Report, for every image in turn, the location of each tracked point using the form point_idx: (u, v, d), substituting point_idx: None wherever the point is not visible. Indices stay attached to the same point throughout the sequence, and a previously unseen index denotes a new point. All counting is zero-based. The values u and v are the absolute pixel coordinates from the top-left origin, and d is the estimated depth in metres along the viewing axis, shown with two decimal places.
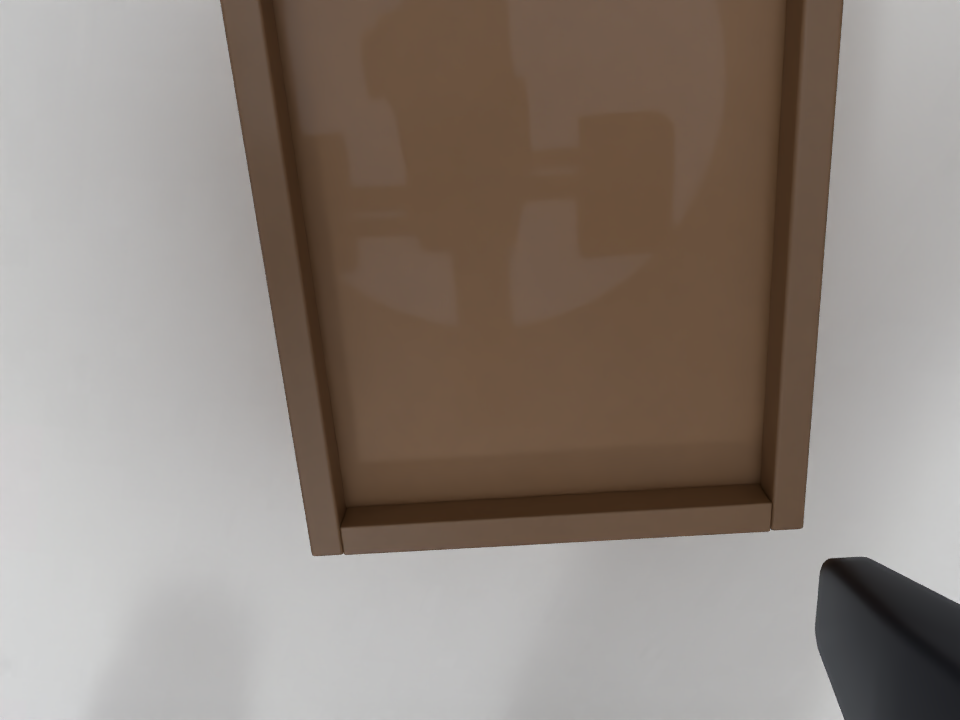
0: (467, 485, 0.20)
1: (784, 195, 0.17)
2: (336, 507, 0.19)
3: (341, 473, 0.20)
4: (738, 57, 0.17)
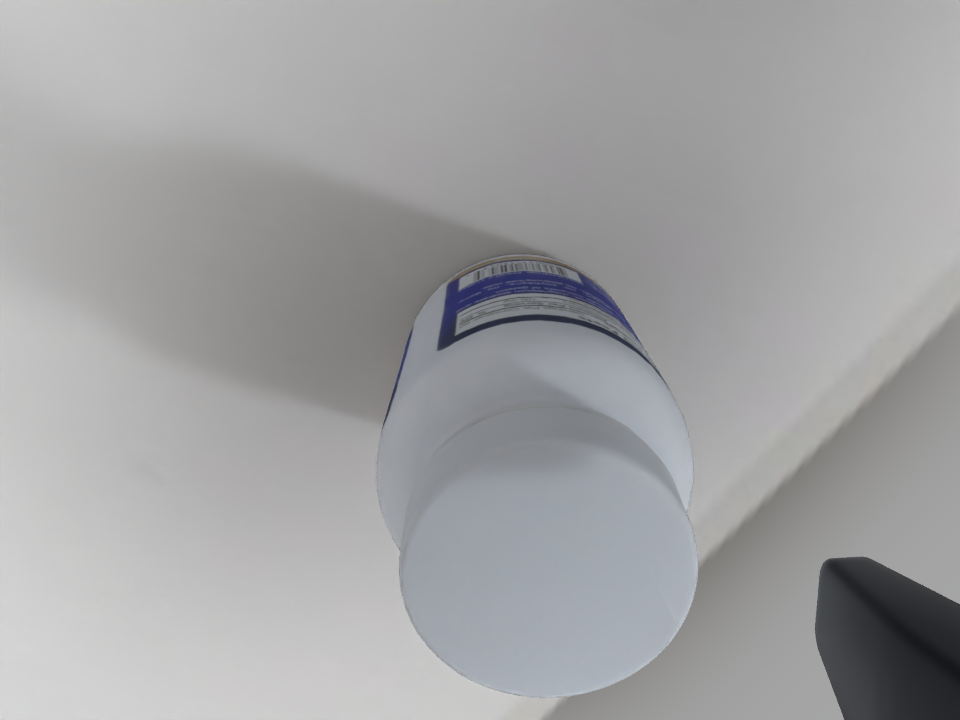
0: None
1: None
2: None
3: None
4: None
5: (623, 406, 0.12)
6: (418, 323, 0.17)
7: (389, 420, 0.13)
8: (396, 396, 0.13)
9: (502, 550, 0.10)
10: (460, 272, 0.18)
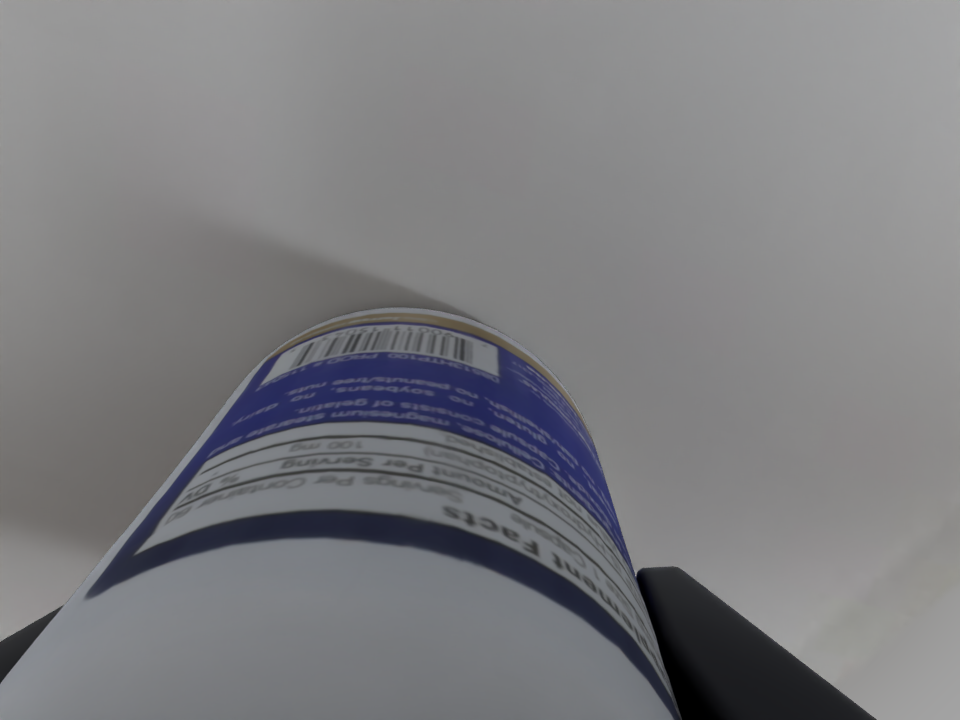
0: None
1: None
2: None
3: None
4: None
5: None
6: None
7: None
8: None
9: None
10: (293, 338, 0.10)
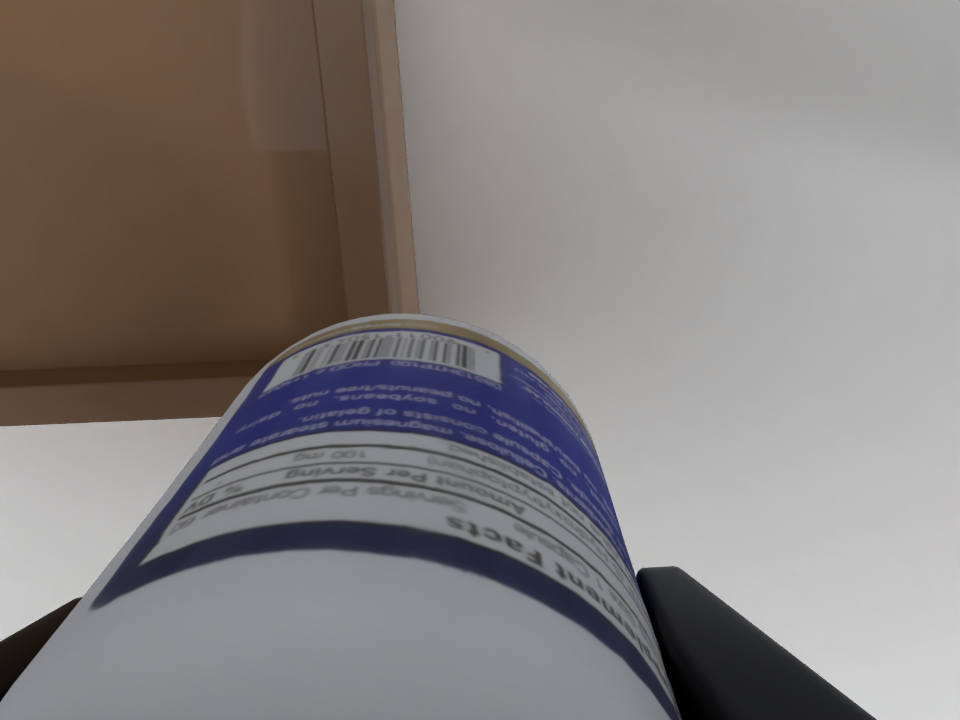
0: (321, 191, 0.14)
1: None
2: None
3: None
4: None
5: None
6: None
7: None
8: None
9: None
10: (296, 344, 0.10)
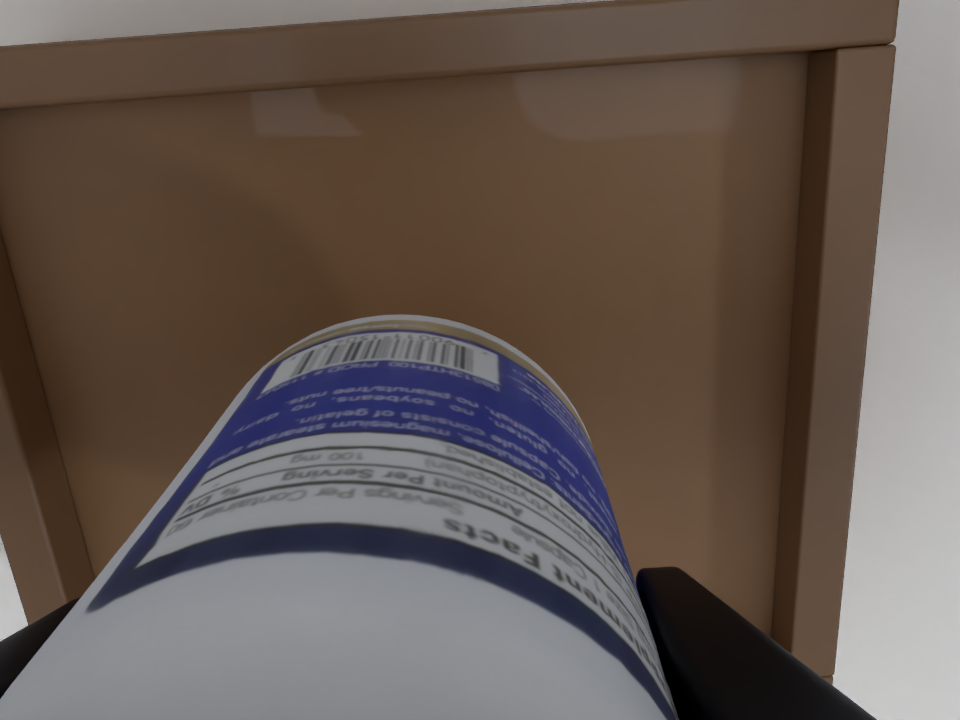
0: (756, 496, 0.14)
1: None
2: None
3: None
4: (140, 162, 0.12)
5: None
6: None
7: None
8: None
9: None
10: (294, 345, 0.10)
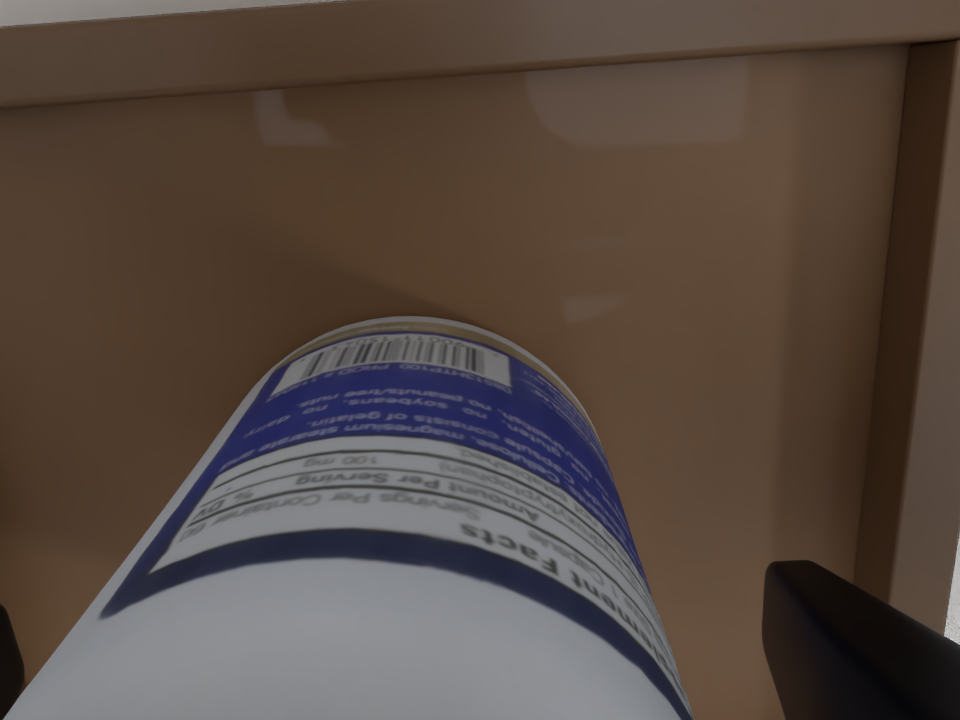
0: None
1: (269, 89, 0.09)
2: None
3: None
4: (62, 183, 0.10)
5: None
6: None
7: None
8: None
9: None
10: (303, 347, 0.10)
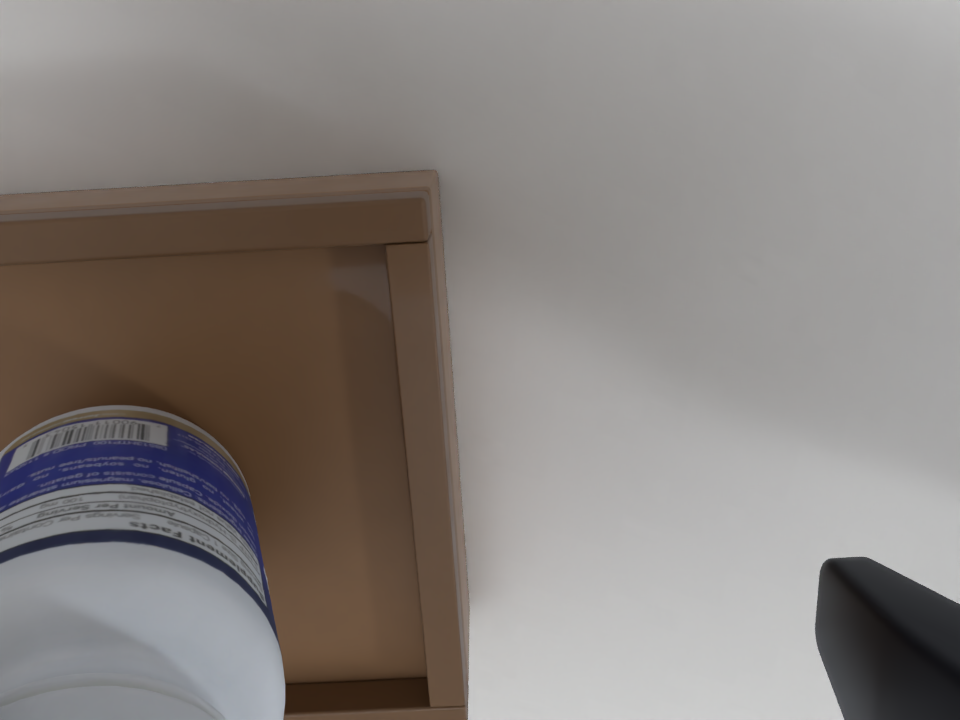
0: (403, 563, 0.18)
1: None
2: (406, 708, 0.18)
3: (391, 678, 0.19)
4: None
5: (177, 640, 0.10)
6: None
7: None
8: None
9: None
10: (22, 435, 0.15)
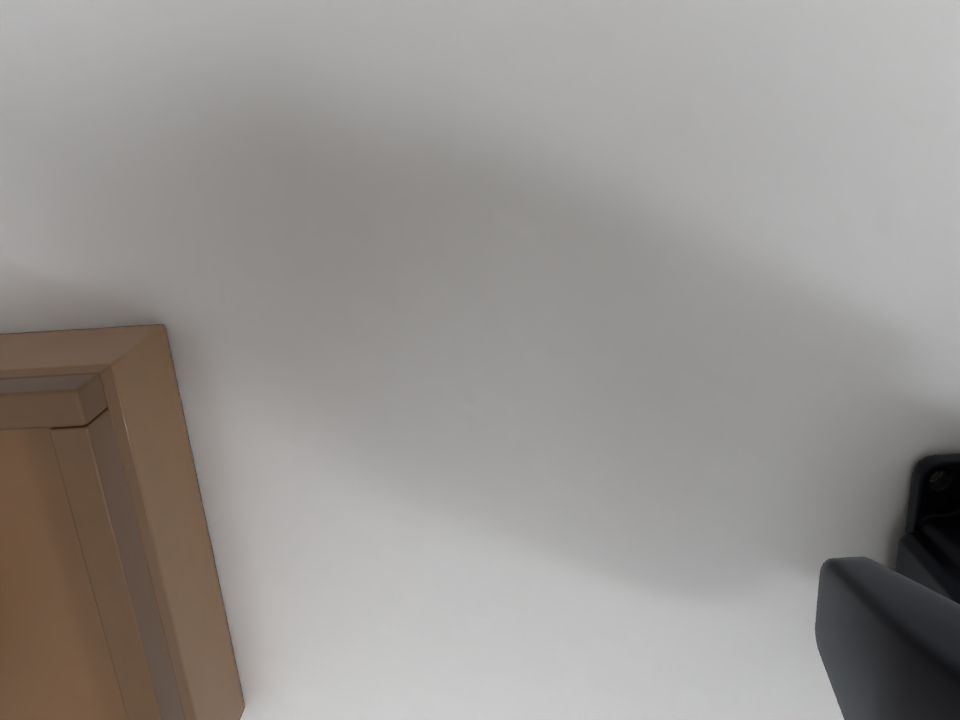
0: None
1: None
2: None
3: None
4: None
5: None
6: None
7: None
8: None
9: None
10: None
